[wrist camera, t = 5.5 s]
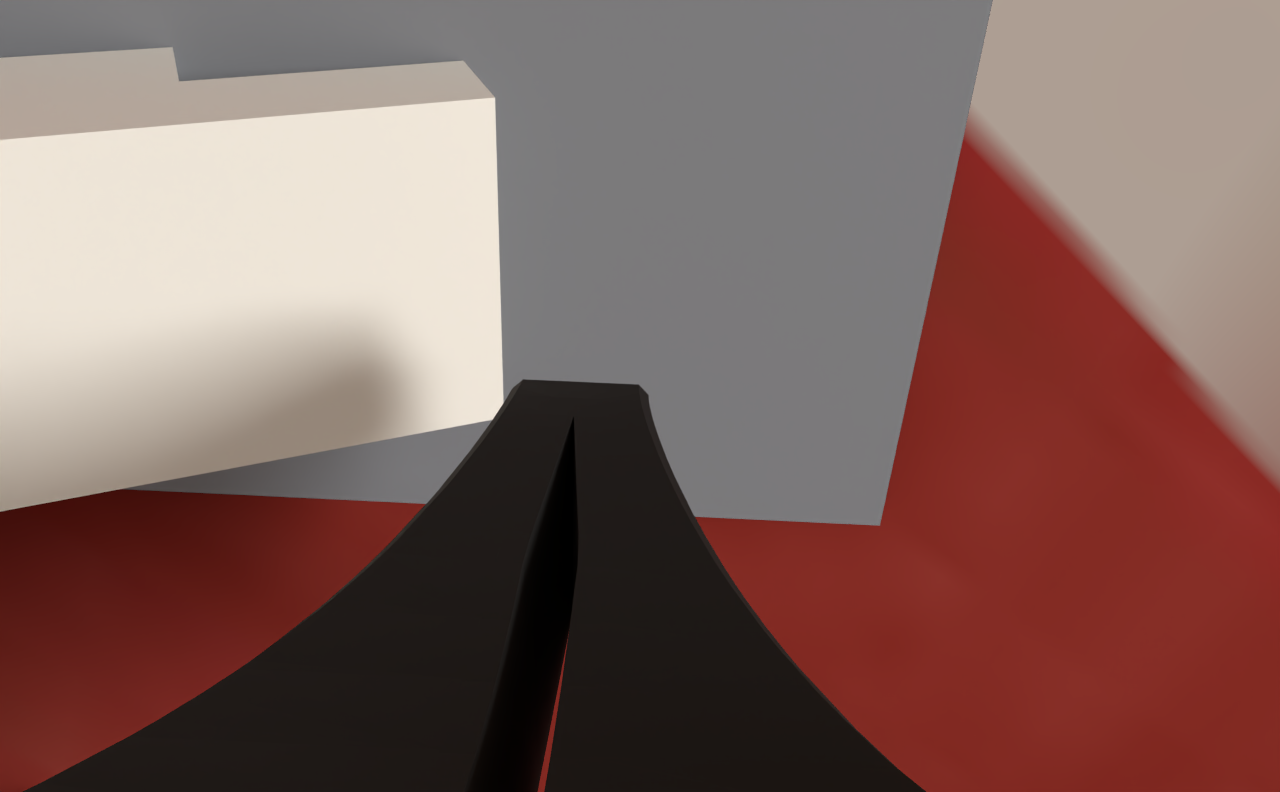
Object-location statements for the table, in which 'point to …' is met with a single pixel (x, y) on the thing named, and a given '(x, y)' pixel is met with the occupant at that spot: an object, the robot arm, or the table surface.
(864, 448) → the mat
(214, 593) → the table surface
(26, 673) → the table surface
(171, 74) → the domino
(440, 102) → the domino
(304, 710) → the robot arm
